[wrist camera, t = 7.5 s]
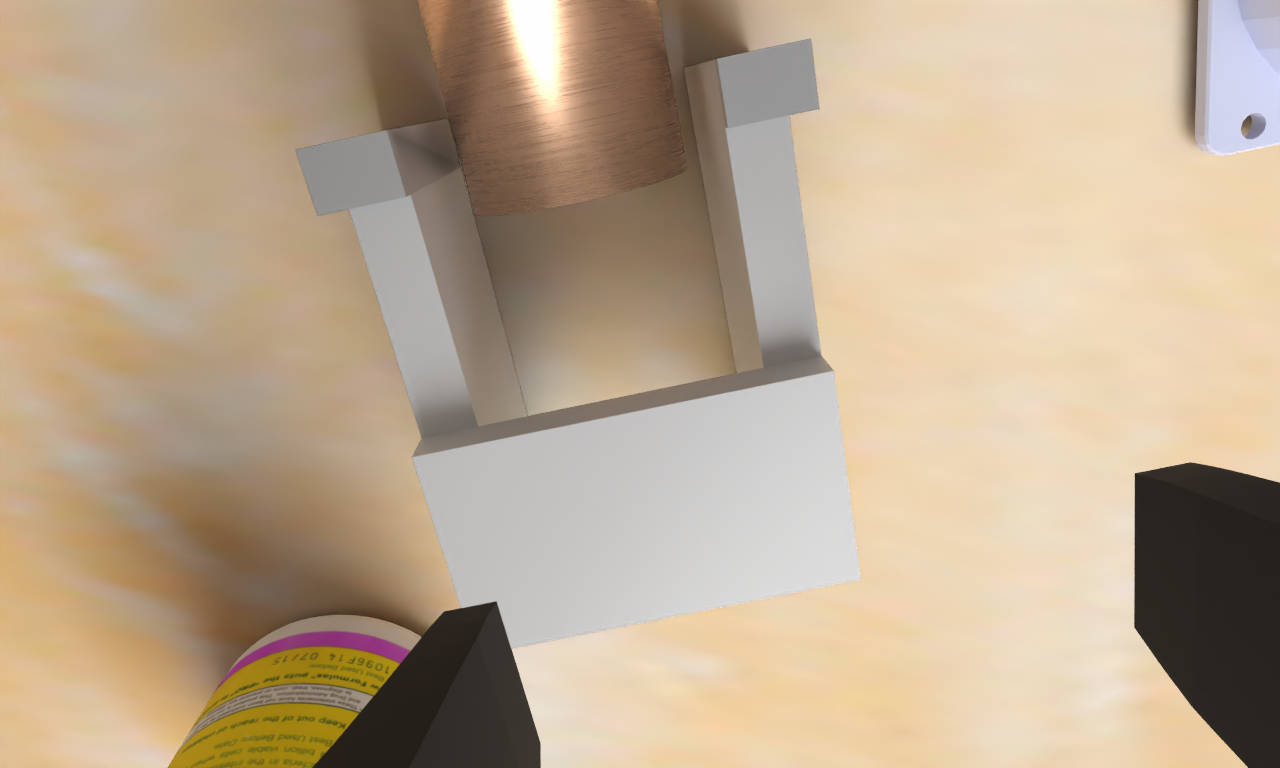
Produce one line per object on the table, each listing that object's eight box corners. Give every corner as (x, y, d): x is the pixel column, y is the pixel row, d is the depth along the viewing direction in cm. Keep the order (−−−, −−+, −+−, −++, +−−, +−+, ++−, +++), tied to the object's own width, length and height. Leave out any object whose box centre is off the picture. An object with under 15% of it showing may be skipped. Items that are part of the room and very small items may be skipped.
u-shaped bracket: (750, 53, 17) (818, 36, 12) (807, 445, 20) (882, 575, 15) (382, 133, 17) (283, 152, 12) (493, 509, 20) (455, 659, 15)
